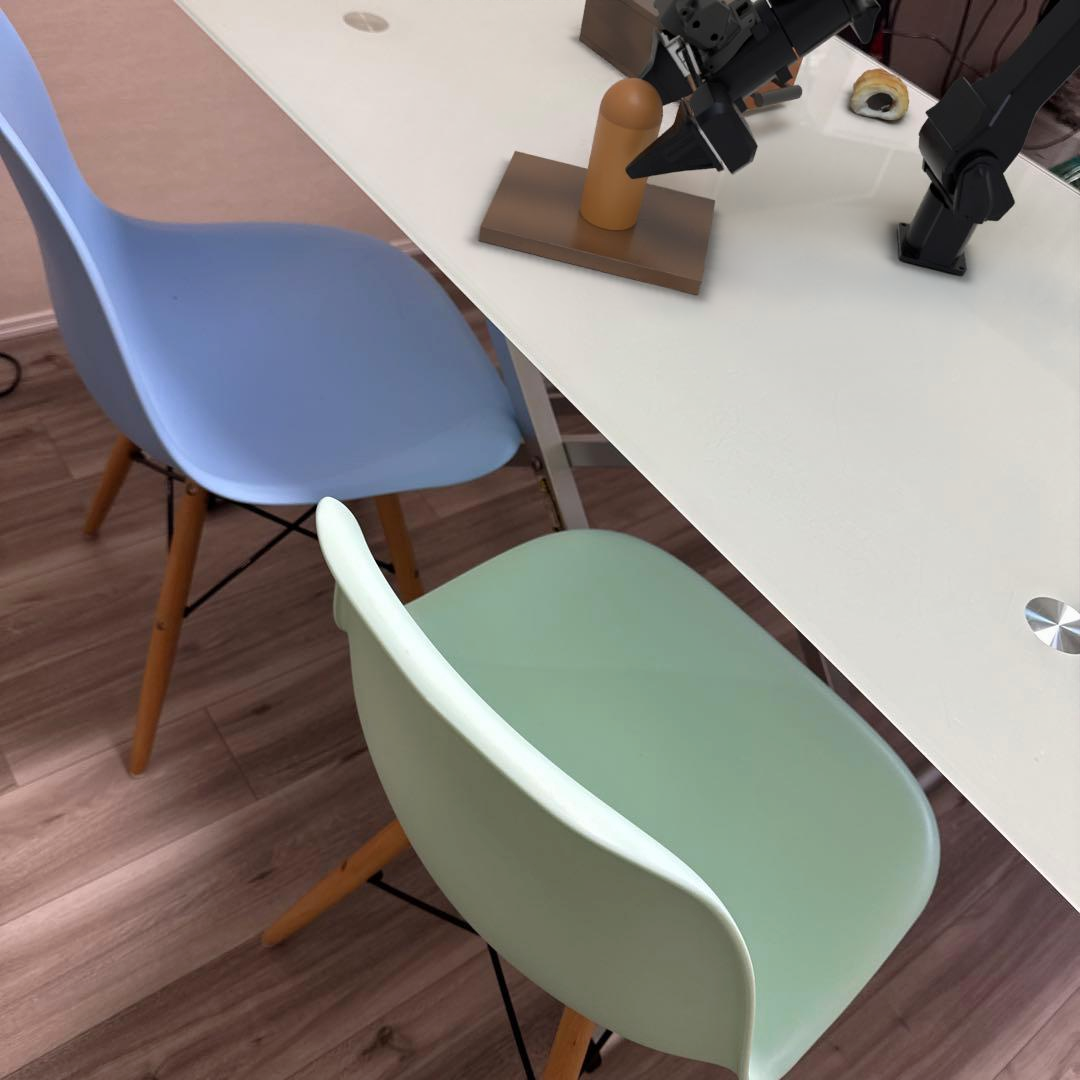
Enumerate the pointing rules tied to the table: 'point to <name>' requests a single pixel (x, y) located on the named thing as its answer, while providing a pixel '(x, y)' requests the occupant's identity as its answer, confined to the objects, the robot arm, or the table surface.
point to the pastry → (880, 95)
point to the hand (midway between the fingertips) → (619, 145)
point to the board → (563, 234)
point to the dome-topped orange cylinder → (620, 153)
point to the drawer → (771, 90)
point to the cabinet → (621, 32)
